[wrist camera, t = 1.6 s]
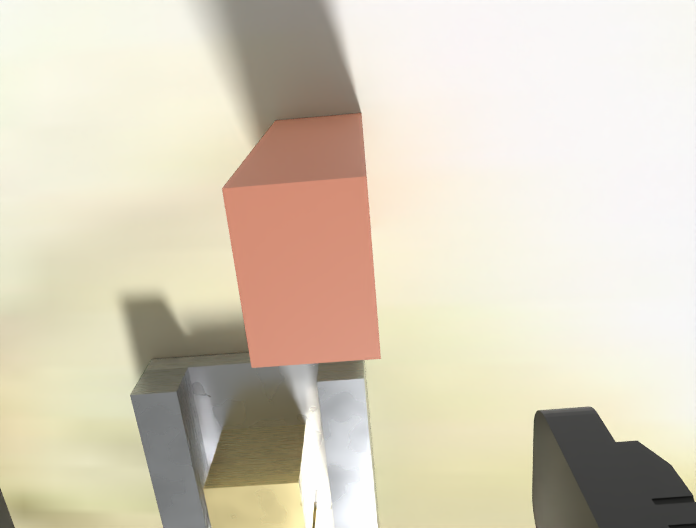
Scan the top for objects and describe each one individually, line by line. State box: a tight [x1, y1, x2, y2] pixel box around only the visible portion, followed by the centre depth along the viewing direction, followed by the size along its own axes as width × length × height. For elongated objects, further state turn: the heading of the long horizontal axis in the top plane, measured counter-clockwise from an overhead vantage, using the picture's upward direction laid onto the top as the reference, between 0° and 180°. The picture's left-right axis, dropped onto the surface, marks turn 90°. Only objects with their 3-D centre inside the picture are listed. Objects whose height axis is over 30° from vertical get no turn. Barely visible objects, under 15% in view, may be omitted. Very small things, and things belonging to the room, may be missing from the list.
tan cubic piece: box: [203, 424, 315, 528], centre depth 28 cm, size 4×4×4 cm
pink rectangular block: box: [222, 113, 381, 368], centre depth 21 cm, size 4×5×11 cm
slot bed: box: [130, 352, 379, 528], centre depth 31 cm, size 10×16×3 cm, turn 5°
